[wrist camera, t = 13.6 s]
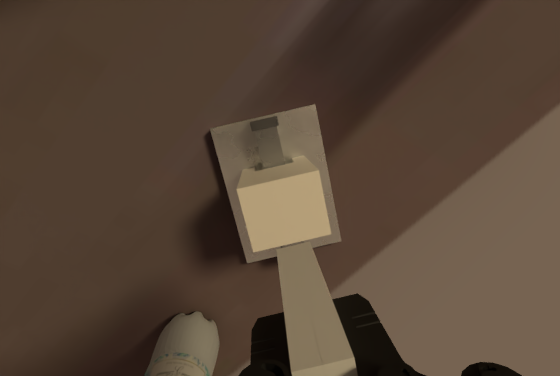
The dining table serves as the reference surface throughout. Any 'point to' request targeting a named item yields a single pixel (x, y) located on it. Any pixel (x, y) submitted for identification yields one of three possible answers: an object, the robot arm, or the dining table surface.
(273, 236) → the block
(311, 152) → the rail board
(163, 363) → the bottle
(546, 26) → the dining table surface
